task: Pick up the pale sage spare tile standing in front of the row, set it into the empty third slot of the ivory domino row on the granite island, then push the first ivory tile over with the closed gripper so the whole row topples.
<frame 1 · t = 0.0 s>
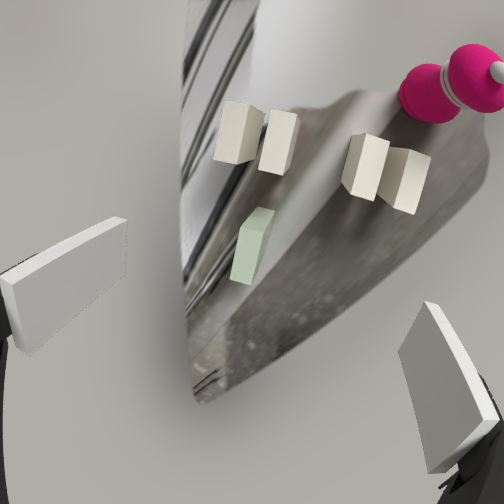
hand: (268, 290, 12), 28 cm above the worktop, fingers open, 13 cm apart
pepper mill: (420, 97, 31), on the worktop
spare tile: (261, 229, 41), on the worktop
tile 4: (355, 161, 35), on the worktop
tile 5: (388, 171, 35), on the worktop
tile 1: (250, 134, 37), on the worktop
tile 2: (285, 141, 36), on the worktop
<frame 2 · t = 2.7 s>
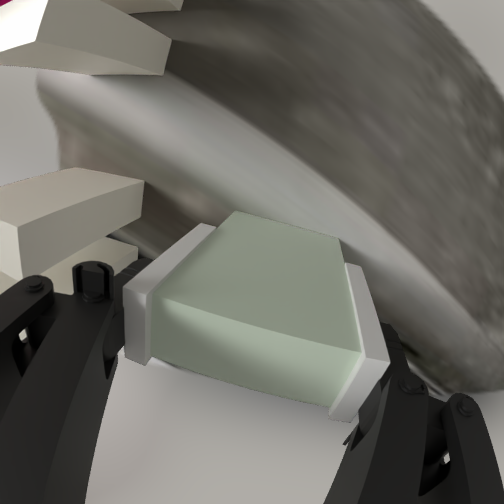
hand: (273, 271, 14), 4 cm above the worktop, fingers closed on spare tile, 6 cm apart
spare tile: (281, 243, 18), on the worktop, touching gripper
tile 4: (126, 57, 15), on the worktop
tile 1: (103, 251, 20), on the worktop
tile 2: (105, 190, 18), on the worktop
when the fingers open (4 cm above the worktop, at t = 7.4 s): spare tile stays where it is, on the worktop.
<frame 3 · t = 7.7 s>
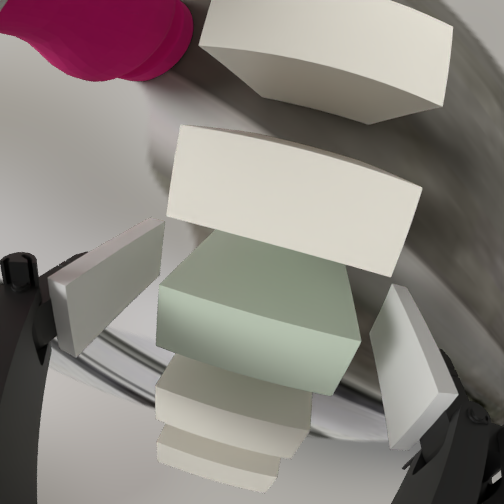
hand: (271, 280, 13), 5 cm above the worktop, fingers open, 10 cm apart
pepper mill: (150, 38, 15), on the worktop
spare tile: (282, 240, 18), on the worktop
tile 4: (302, 166, 16), on the worktop
tile 5: (320, 89, 15), on the worktop
tile 1: (250, 355, 21), on the worktop
tile 2: (265, 305, 20), on the worktop
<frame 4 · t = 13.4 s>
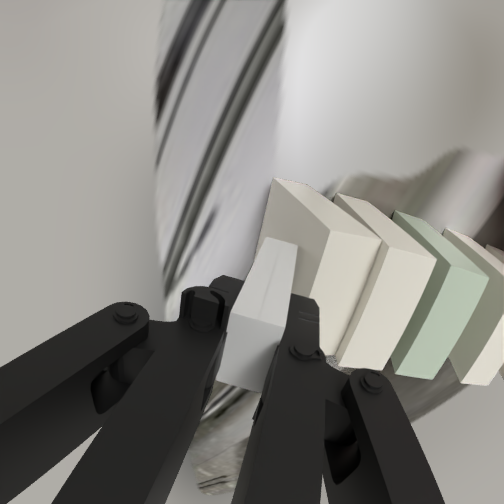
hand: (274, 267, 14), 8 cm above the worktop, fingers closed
spare tile: (395, 253, 21), on the worktop
tile 4: (443, 267, 20), on the worktop
tile 1: (280, 222, 21), on the worktop, tilted 19°
tile 2: (340, 237, 21), on the worktop, tilted 8°
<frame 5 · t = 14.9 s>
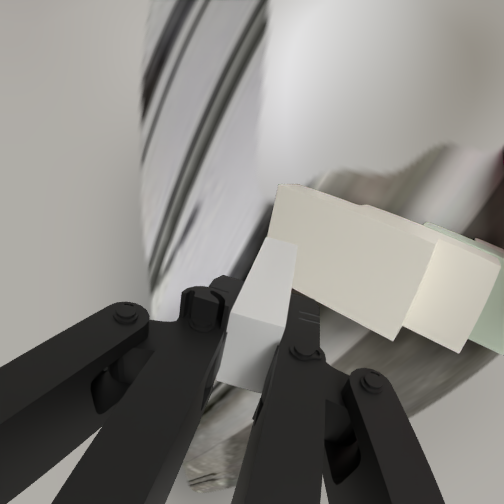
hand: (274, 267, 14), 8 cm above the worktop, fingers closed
spare tile: (412, 262, 20), point 1 cm above the worktop, tilted 59°, touching tile 2, tile 4
tile 1: (279, 227, 21), point 1 cm above the worktop, tilted 60°, touching tile 2
tile 2: (349, 247, 20), point 1 cm above the worktop, tilted 60°, touching spare tile, tile 1
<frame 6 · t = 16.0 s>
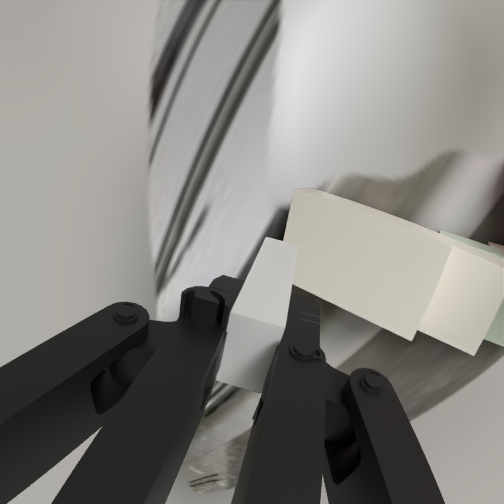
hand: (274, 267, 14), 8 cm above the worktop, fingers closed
spare tile: (429, 271, 20), point 1 cm above the worktop, tilted 61°, touching tile 4
tile 1: (294, 231, 21), point 1 cm above the worktop, tilted 62°, touching tile 2
tile 2: (367, 255, 20), point 1 cm above the worktop, tilted 61°, touching tile 1
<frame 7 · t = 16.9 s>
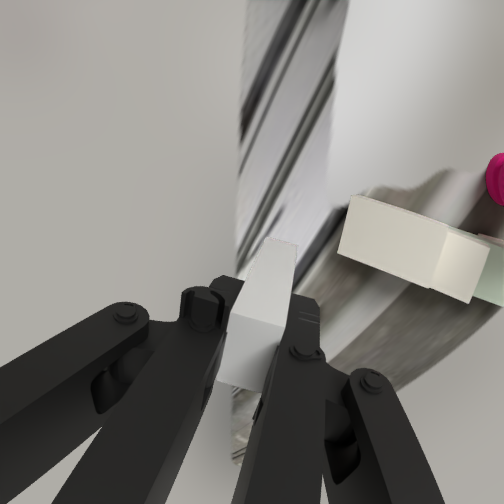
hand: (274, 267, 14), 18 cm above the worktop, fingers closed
pepper mill: (502, 178, 26), on the worktop
spare tile: (437, 252, 29), point 1 cm above the worktop, tilted 62°, touching tile 2, tile 4
tile 1: (348, 223, 30), point 1 cm above the worktop, tilted 63°, touching tile 2
tile 2: (395, 240, 30), point 1 cm above the worktop, tilted 62°, touching spare tile, tile 1
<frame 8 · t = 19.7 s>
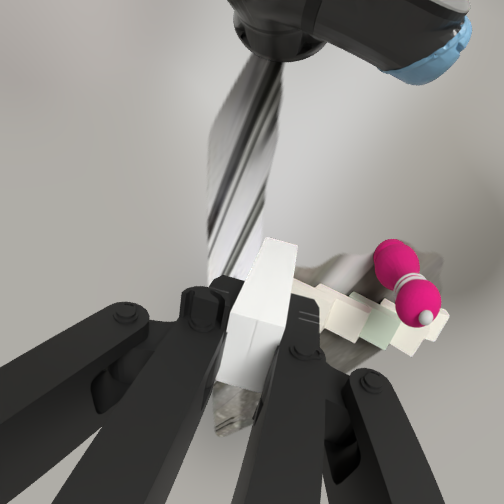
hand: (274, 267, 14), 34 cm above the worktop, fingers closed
pepper mill: (390, 256, 48), on the worktop
spare tile: (345, 307, 51), point 1 cm above the worktop, tilted 63°, touching tile 2, tile 4
tile 4: (375, 314, 50), point 1 cm above the worktop, tilted 63°, touching spare tile
tile 5: (398, 313, 50), point 1 cm above the worktop, tilted 90°
tile 1: (275, 290, 52), point 1 cm above the worktop, tilted 67°, touching tile 2
tile 2: (312, 300, 52), point 1 cm above the worktop, tilted 65°, touching spare tile, tile 1
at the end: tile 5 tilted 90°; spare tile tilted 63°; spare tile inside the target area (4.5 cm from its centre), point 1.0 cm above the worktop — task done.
